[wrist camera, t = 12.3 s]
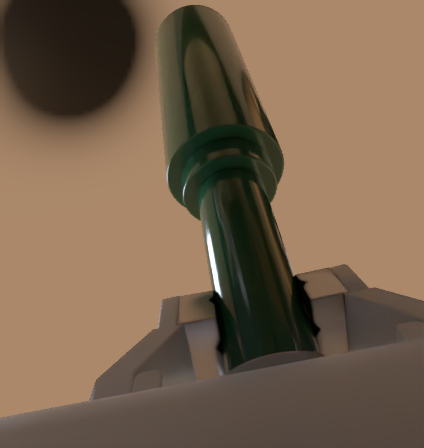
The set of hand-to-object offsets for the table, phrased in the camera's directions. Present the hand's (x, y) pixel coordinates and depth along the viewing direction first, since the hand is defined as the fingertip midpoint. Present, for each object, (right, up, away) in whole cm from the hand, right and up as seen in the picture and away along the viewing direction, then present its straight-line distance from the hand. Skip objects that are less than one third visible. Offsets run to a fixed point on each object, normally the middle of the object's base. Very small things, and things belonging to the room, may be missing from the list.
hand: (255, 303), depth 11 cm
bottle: (-1, +6, +2) cm, 7 cm away
